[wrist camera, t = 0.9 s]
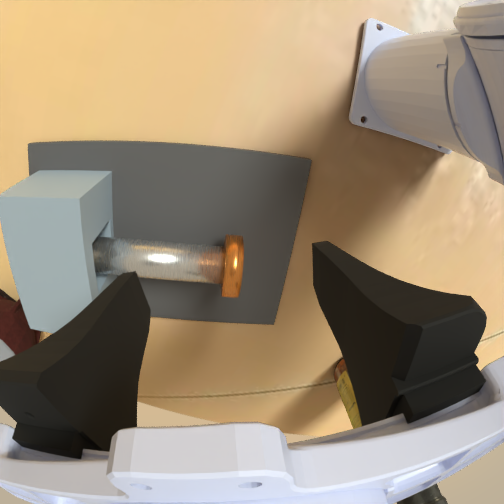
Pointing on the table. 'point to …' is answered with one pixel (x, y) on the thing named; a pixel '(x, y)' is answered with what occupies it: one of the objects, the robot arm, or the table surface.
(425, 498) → the sauce bottle
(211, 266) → the pin
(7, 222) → the block
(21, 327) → the mate gourd
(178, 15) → the table surface
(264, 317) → the mat
